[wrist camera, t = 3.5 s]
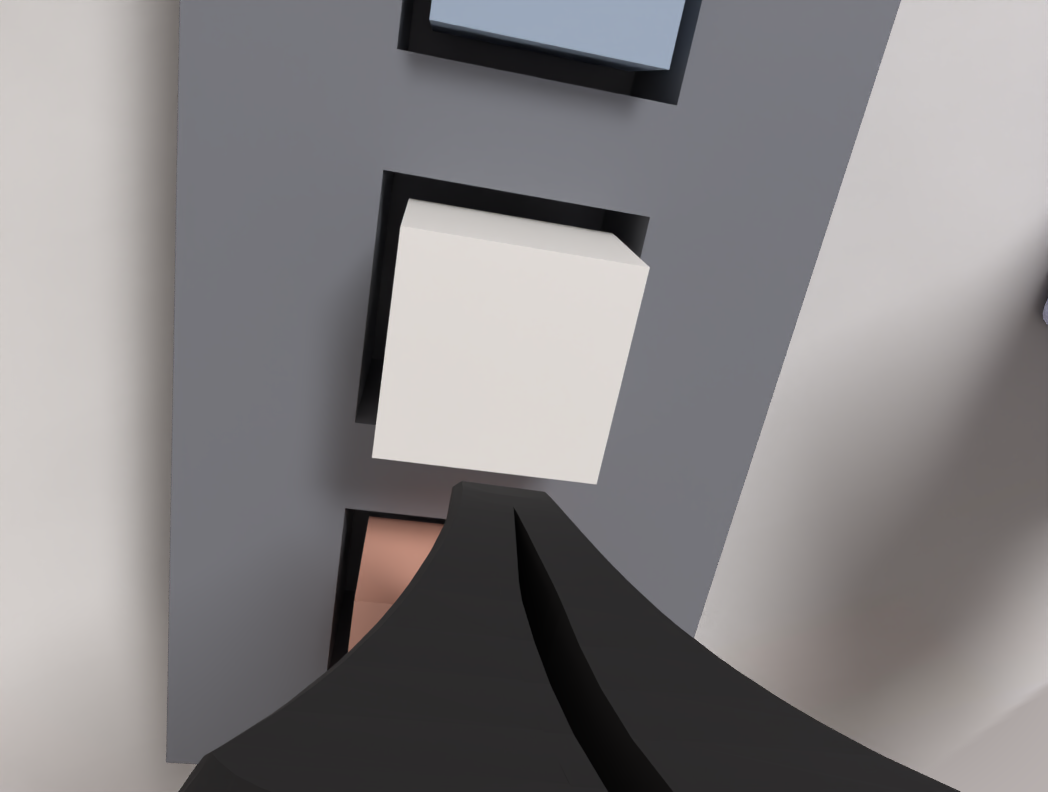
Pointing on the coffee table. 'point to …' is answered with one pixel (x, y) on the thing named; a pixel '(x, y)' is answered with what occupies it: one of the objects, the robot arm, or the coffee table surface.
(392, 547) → the red key
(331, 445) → the key housing
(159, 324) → the coffee table surface
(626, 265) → the white key
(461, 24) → the blue key
